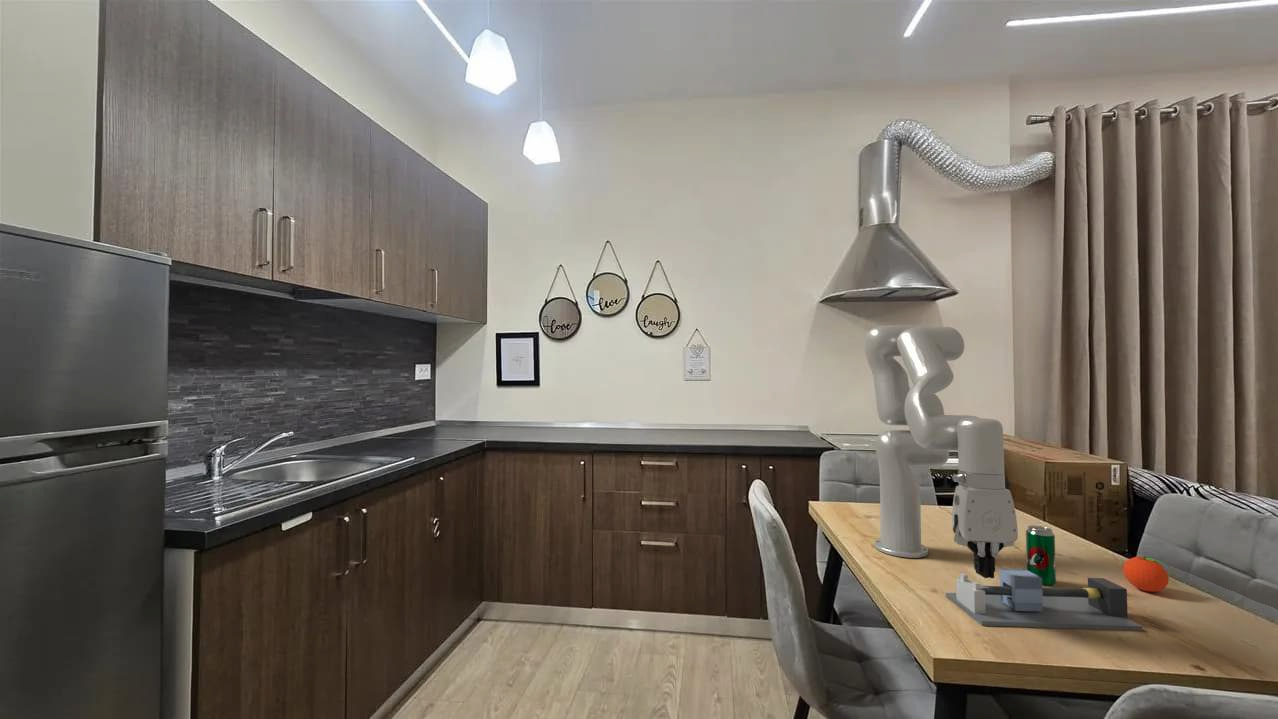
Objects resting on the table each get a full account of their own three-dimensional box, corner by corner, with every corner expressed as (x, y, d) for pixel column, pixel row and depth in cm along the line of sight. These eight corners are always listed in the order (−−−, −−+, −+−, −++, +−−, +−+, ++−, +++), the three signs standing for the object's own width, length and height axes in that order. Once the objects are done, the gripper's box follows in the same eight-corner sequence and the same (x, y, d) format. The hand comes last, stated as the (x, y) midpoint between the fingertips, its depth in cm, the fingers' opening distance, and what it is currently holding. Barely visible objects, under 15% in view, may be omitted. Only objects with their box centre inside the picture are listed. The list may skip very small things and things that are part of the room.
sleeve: (1015, 610, 94) (1014, 577, 95) (1000, 600, 99) (999, 568, 99) (1042, 611, 94) (1042, 578, 94) (1026, 601, 98) (1025, 569, 99)
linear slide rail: (981, 625, 91) (981, 591, 91) (945, 596, 103) (945, 566, 103) (1145, 630, 89) (1144, 596, 90) (1089, 600, 101) (1088, 570, 101)
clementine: (1165, 587, 108) (1164, 555, 108) (1184, 601, 101) (1182, 566, 102) (1117, 581, 111) (1116, 549, 111) (1132, 593, 105) (1131, 559, 105)
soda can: (1061, 588, 107) (1060, 532, 108) (1035, 585, 108) (1033, 530, 109) (1047, 578, 112) (1045, 525, 113) (1022, 576, 113) (1020, 524, 114)
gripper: (953, 484, 94) (956, 582, 93) (1034, 485, 93) (1039, 584, 92) (932, 477, 102) (935, 567, 101) (1007, 478, 101) (1011, 569, 100)
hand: (984, 575), depth 97 cm, fingers closed
